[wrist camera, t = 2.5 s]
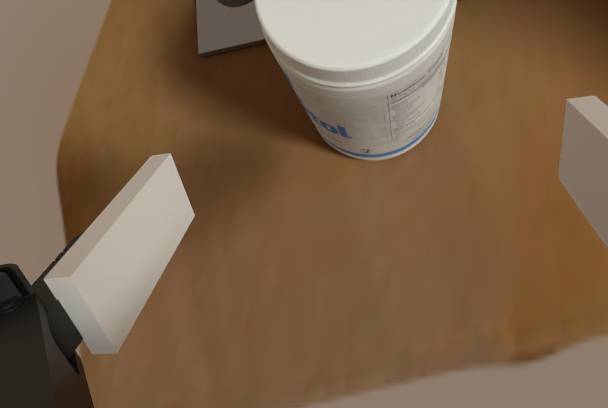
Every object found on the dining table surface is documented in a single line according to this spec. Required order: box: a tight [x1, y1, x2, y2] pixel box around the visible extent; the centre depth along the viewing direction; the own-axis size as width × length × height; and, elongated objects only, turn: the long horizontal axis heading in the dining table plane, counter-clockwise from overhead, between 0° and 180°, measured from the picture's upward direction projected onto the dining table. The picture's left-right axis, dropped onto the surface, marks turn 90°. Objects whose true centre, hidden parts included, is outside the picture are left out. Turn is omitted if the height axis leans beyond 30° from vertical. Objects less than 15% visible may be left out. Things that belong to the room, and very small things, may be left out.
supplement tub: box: [254, 0, 457, 160], centre depth 27 cm, size 10×10×15 cm
